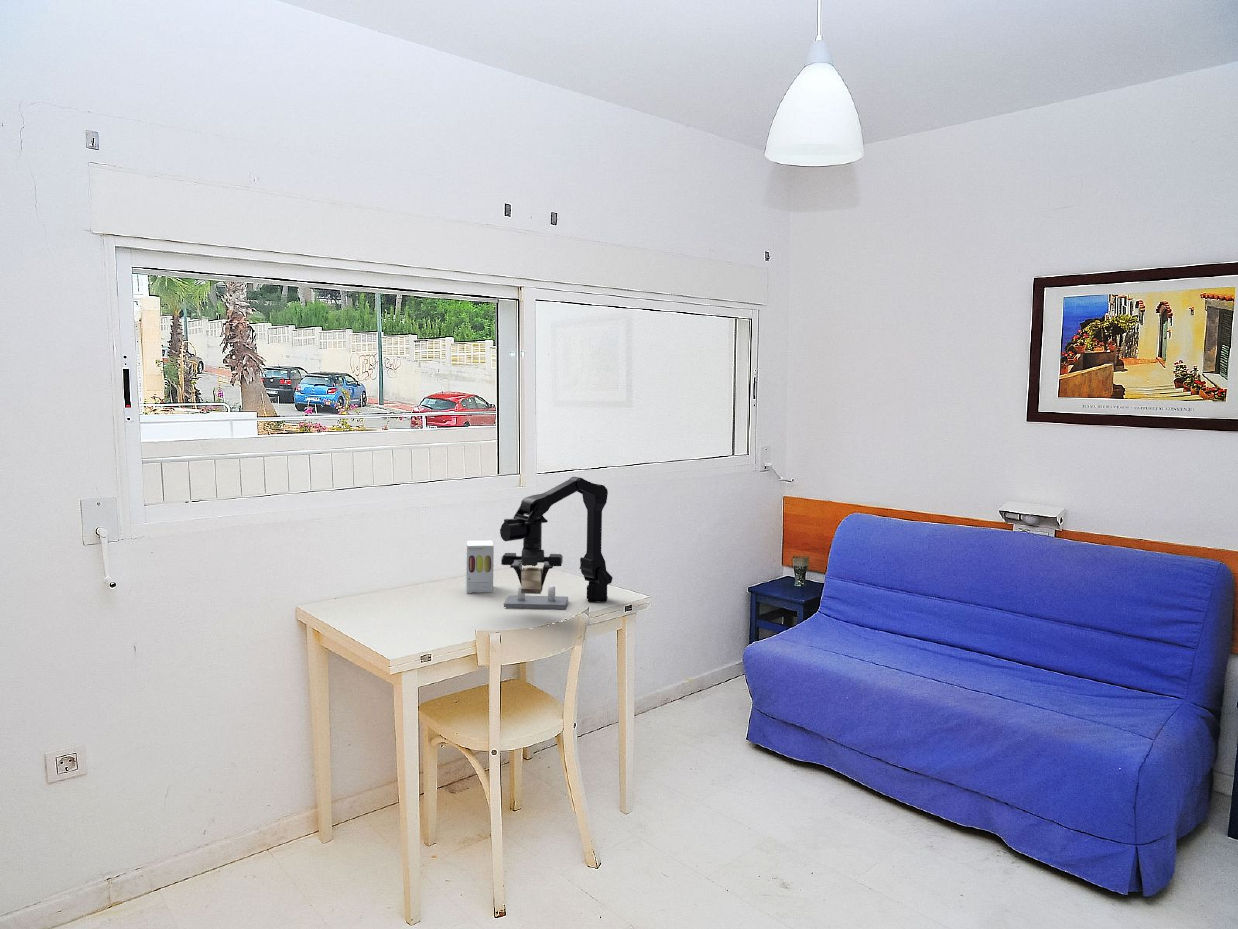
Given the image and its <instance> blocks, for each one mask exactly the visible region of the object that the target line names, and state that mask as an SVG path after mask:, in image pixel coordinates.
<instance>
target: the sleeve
mask: <svg viewBox="0 0 1238 929" xmlns="http://www.w3.org/2000/svg"><path fill="white" fill-rule="evenodd" d="M542 573H543V566H541V567H540V566H537V567H536V566H524V567H522V571H521V584H520V585H521V593H525V595H526V594H528V595H529V594H530V595H531V594H532V595H533V594H535V595H536V594H537V595H538V594H539V595H540V594H542V591H543V587H541V581H542Z"/></svg>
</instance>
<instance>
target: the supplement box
mask: <svg viewBox="0 0 1238 929" xmlns="http://www.w3.org/2000/svg"><path fill="white" fill-rule="evenodd" d="M493 542H494V541H493V540H467V541H466V554H465V555H466V557H465V591H466V592H465V593H466V594H473V593H472V592H492V593H493V592H494V561H495V560H494V558H495V557H494V553H495V552H494V543H493Z"/></svg>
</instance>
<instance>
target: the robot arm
mask: <svg viewBox="0 0 1238 929" xmlns="http://www.w3.org/2000/svg"><path fill="white" fill-rule="evenodd" d="M574 493H579V494H581V495H582V501H583V503H584V506H585V508H586V512H587V513H586V551H585V552H586V553H585V554H584V556H583V557H580V558H579V561H580V563H579V564H580V566H579V570H580V571H581V574H582V576H583V578H584V581H585V582H588V584H587V585H586V599H587V602H589V603H608V599H609V596H608V585H611V584H612V582H613V578H614V577H613V576H612V575H611V574H610V573H609V571H608V570H607V565H606V560H605V557H604V556H603V553H602V540H603V539H602V535H603V534H602V533H603V532H602V531H603V530H602V529H603V527H602V526H603V510H604V508H605V506H606V504H607V500H608V494H609V491H608V488H607V487H606V486H605V485H603V484H599V483H593V482H591V481H588V480H586V479H584V478H583V477H578V476H572V477H569V479H567V480H566V481H564V482H561V483H559V484H558V485H556V486H554V487H552V488H551V489H548V490H547V491H545V492H543V493H537V494H532V495H529V496H526V497H524V498H523V499H522V500H521V502H520V506H519V507H518V509H517V510H516V511H515V514H514V515H513V517H512V518H504V519H503V523H502V524H501V526H500V528H499V535H500V538H501V539H502V540H503V541H504V542H511V541H518V540H519V541H520V540H523V541H522V545H523V546H522V550H521V555H517V553H516V552H505V553H504V554H502V556H501V558H500V559H501V566H509V567H510V568H511V569H513V570H514V571H515V573H516V575H517V577H518V580H519V583H520V585H521V571H522V570H523V566H524V567H527V566H531V567H536V566H537V565H538V563H539V564H540V563H541V564H542V563H543V566H542V567H543V573H542V581H541V587H543V586H544V583H545V580H546V578H547V576H548V572H549V570H550V569H553V568H554V567H562V565H563V563H564V562H563V555H562V553H550V554H549V556H545V550H544V549H542V543H543V542H542V538H543V537H542V536H543V535H542V532H543V531H542V530H543V529H542V528H543V527H542V524H544V523H545V524H546V523H548V519H546V518H545V517H544V515H545V514H546V513H548V511H549V510H550V509H551V507H552V506H553V505H555V504H556V503H558V502H560V501H562V500H563V499H566V498H567V497H569V496H570V495H573V494H574Z"/></svg>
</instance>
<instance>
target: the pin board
mask: <svg viewBox="0 0 1238 929" xmlns="http://www.w3.org/2000/svg"><path fill="white" fill-rule="evenodd" d="M568 601H569V597H568V596H563V595H562V596H559V595H557V596H556V586H555V585H549V586H547V595H526V594H525V593H521V584H520V585H517V595H515V594H511V595H507V597H506V599H505V601H504V602H503V608H504V607H506V608H505V609H525V608H527V609H530V610H532V609H533V610H536V609H537V610H566V608H567V606H568Z"/></svg>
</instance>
